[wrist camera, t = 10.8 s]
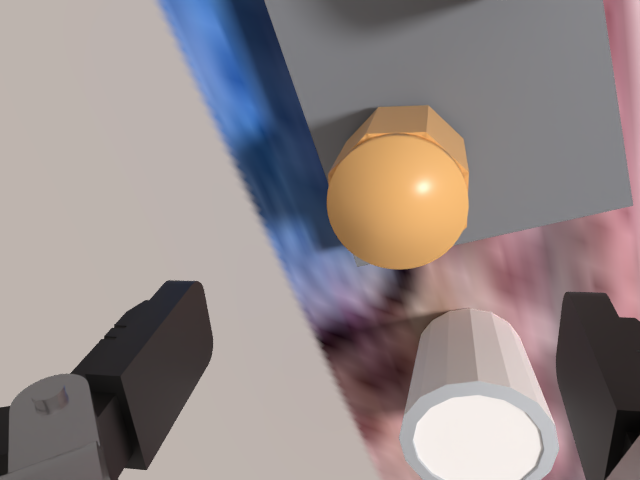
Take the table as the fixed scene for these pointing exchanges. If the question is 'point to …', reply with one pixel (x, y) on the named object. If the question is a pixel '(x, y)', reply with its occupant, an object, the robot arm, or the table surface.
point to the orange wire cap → (400, 188)
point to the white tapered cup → (476, 404)
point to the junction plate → (473, 95)
